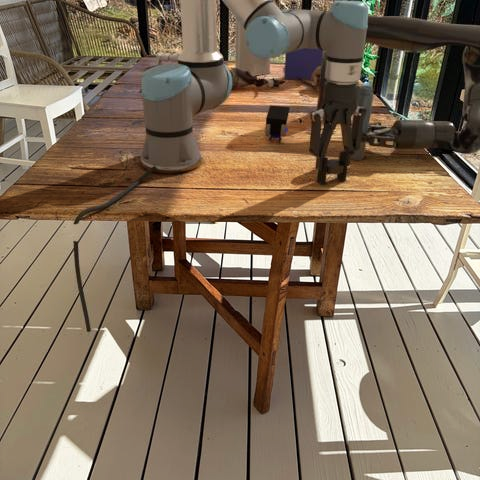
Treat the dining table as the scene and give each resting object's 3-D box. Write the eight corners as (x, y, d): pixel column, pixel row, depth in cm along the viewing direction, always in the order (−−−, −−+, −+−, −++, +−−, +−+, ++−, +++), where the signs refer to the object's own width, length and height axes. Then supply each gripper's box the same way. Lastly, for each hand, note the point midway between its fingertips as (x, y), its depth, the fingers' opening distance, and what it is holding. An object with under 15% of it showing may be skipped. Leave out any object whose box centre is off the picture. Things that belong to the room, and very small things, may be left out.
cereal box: (323, 77, 210) (330, 17, 198) (324, 80, 206) (331, 19, 193) (284, 76, 211) (287, 16, 198) (284, 78, 207) (288, 18, 194)
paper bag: (273, 76, 210) (276, 6, 196) (239, 77, 209) (240, 6, 194) (266, 67, 226) (268, 2, 212) (235, 67, 225) (235, 1, 210)
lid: (347, 170, 113) (348, 163, 112) (334, 176, 110) (335, 169, 110) (330, 164, 116) (331, 158, 116) (317, 170, 114) (318, 163, 113)
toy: (175, 75, 210) (174, 58, 206) (151, 64, 228) (150, 49, 224) (222, 69, 222) (222, 53, 218) (195, 59, 239) (195, 45, 236)
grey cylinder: (355, 161, 126) (365, 90, 116) (343, 155, 129) (353, 86, 120) (367, 158, 128) (378, 88, 118) (355, 153, 131) (365, 84, 122)
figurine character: (286, 149, 136) (289, 127, 148) (287, 124, 131) (290, 104, 143) (262, 148, 137) (267, 126, 149) (263, 123, 132) (268, 103, 144)
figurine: (210, 87, 179) (288, 95, 182) (212, 65, 176) (291, 73, 180) (208, 84, 201) (278, 91, 205) (210, 64, 198) (280, 71, 202)
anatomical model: (320, 94, 199) (320, 96, 185) (305, 80, 198) (304, 80, 184) (342, 71, 195) (344, 70, 181) (327, 56, 194) (328, 54, 180)
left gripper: (313, 88, 97) (305, 192, 109) (387, 81, 103) (371, 181, 115) (297, 80, 103) (290, 179, 115) (367, 74, 109) (354, 169, 121)
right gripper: (419, 158, 122) (352, 157, 121) (401, 139, 134) (341, 139, 133) (425, 129, 118) (356, 129, 117) (406, 112, 130) (344, 112, 129)
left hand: (331, 180), depth 115 cm, fingers closed on lid, 5 cm apart
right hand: (348, 134), depth 125 cm, fingers closed on grey cylinder, 4 cm apart
